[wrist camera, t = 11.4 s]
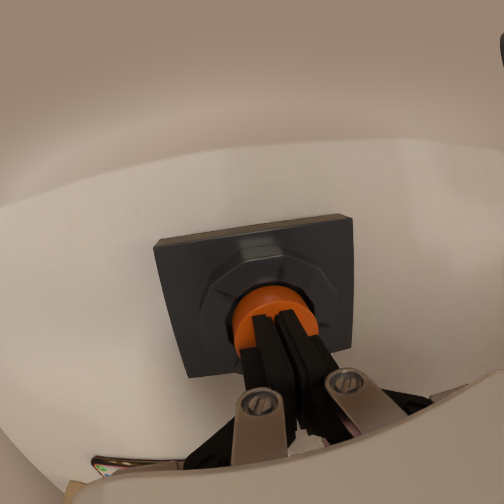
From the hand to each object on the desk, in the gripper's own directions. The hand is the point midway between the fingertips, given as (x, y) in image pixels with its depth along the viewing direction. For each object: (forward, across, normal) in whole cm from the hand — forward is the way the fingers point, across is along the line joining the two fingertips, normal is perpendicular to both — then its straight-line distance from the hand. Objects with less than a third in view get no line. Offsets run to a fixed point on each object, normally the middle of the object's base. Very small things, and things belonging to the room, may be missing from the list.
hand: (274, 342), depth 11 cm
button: (+2, 0, 0) cm, 2 cm away
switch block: (+5, 0, 0) cm, 5 cm away
